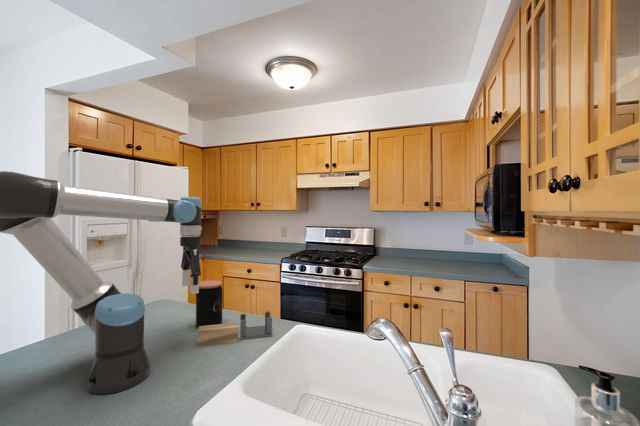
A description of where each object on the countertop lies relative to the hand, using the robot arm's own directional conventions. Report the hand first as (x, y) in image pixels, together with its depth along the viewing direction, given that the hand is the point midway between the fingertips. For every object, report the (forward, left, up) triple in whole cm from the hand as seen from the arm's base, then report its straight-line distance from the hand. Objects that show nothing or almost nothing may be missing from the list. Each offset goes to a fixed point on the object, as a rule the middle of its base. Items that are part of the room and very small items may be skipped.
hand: (190, 289), depth 112 cm
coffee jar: (+9, -6, -18) cm, 21 cm away
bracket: (-5, -25, -18) cm, 32 cm away
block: (-9, -11, -18) cm, 23 cm away
